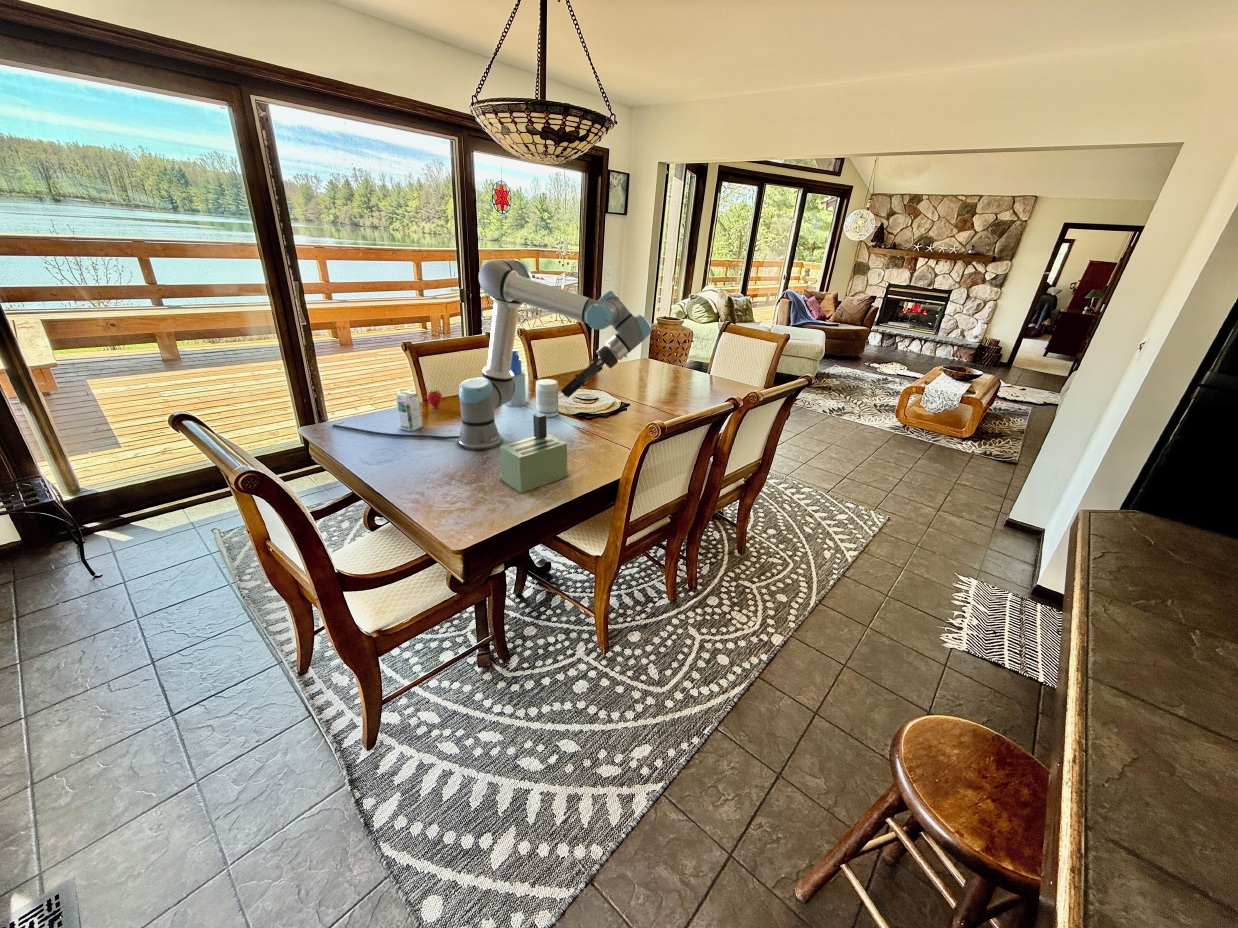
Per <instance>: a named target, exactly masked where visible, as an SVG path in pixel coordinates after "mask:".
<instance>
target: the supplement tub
mask: <svg viewBox="0 0 1238 928" xmlns="http://www.w3.org/2000/svg"><path fill="white" fill-rule="evenodd" d="M558 383H559V382H558V380H556V379H551V378H546V379H545V378H541V379H538V380H536V381H535V398H536V399H535V400H536V414H539V413H542V414H544V415H546V418H552V417H556V416H557V415H559V384H558Z"/></svg>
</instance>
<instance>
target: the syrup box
mask: <svg viewBox="0 0 1238 928" xmlns="http://www.w3.org/2000/svg"><path fill="white" fill-rule="evenodd" d="M418 395H419V394H418V392H414V391H410V390H409V391H408V390H403V391H399V392H397V393H396V394H395V399H396V406H397V411H398V418H399V419H398V420H399V427H400V429H401V430H403V431H409V432H414V431H416V430H418V429H421V428H422V419H421V411H420V403H419V396H418Z"/></svg>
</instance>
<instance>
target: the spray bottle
mask: <svg viewBox="0 0 1238 928" xmlns="http://www.w3.org/2000/svg"><path fill="white" fill-rule="evenodd" d="M510 370H511V371H512V372H513V374H514V376H513V378H514V381H515V382H516V393H515V395H514V397H513V398H512V399H511V400H510V401H509V402H507V403H506V405H507V406H509V407H523V406H525V405H526V404H527V393H526V391H527V390H526V374H525V372H524V371H522V359H521V358H520V355H519V349H517V348H513V353H512V360H511V368H510Z"/></svg>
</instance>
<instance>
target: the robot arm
mask: <svg viewBox="0 0 1238 928" xmlns="http://www.w3.org/2000/svg"><path fill="white" fill-rule="evenodd" d="M478 282H479V286H480V287H481V289H482V291H483V292H484V293H485V294H487V295H488V296H489V297H490V299H491V300H492V301H493V309H492V317H491V326H490V335H489V336H490V337H489V344H488V355H487V363H486V366H484V367H483V368H482V373H481V377H473V378H468V379H466V380H463V381H462V382H460V384H459V386H458V398H459V406H460V407H459V408H460V418H461V426H460V430H459V435H452V436H451V435H449V436H448V435H447V436H442V435H431V434H401V433H388V432H379V431H373V430H367V429H361V428H355V427H352V426H351V427H350V426H346V425H345V426H344V425H338V424H332V427H333V428H337V429H338V428H339V429H344V430H349V431H356V432H361V433H365V434H372V435H379V436H389V437H400V438H401V437H402V438H429V439H440V440H451V439H458V446H460V447H461V448H462V449H466V450H470V451H482V450H490V449H492V448H495V447H497V446H500V444H501V442H502V436H501V433H500V432H499V430H498V427H497V425H496V422H495V410H496V409H497V408H499V407H502V406H503V405H505V404H507V402H509V401H510V400H511V399H512V398H513V397H514V395H515V393H516V382H515V381H514V378H513V376H514V374H513V372H512V371H511V370H510V368H511V360H512V353H513V349H514V343H515V338H516V337H515V335H516V329H517V322H518V315H519V308H520V307H521V306H522V305H524V304H525V305H528V306H532V307H535V308H538V309H541V310H544V311H546V312H550V313H553V314H557V315H560V316H563V317H566V318H568V319H572V320H575V321H578V322H581V323H583V324H584V323H585V324H587V325H588V327H590V328H591V329H593V330H596V331H597V330H604V329H607V328H608V327H609V326H612V328H613V329H614V331H616V332H617V333H616V334H614V335H613V336H611V338H609V339H608V340H607V341H606V342H605V344H603V345H602V346H601V347H600V348H598V349H597V350H596V355H597V356H598V357H597V358H596V359H594V360H593V361H591V363H590V364H588V366H587V367H586V368H585V369H584V370H582V371H581V372H580V373H576V374H574V378H573V379H572V380H571V381H569V383H567V384H566V385H565V386H564V387H563V388H561V390H560V392H561V393H562V394H563V396H565V398H570V397H571V396H572V395H573V394H575V392H577V391H578V390H580V388H581V387H583V388H584V387H585V386H586V383H587V382H588V381H589V380H590V379H591V378H592V377H595V376H596V375H597V374H598V373H601V372H602V370H603V367H604V365H606V366H607V368H609V369H613V368H614V367H615V366H616V365H617V364H618V363H619V361H622V359H624V358H628V354H629V353H631V352H632V351H633V350H634V349H635V348H637V347H638V346H639V345H640V344H641V343H642V342H643V341H645V340H646V339H647V338H648V337H649V336H650V335H651V334H652V327H651V324H650V323H649V322H648V320H647V319H646V318H645V317H644V316H643V315H642V314H637V315H634V314H632V312H631V311H630V309H628V307H627V306H626V305H625V304H624V302H623V301H622V299H621V298H620V296H618V295H617V294H616V293H615V292H614V290H608V291H607V292H605V293H604V294H603V295H602V296H600V297H599V298H598V300H597V299H595V298H590V297H588V296H584V295H581V294H578V293H574V292H571V291H568V290H565V289H562V288H559V287H555V286H553V285H549V284H547V283H544V282H540V281H536V280H533V278H532V273H531V271H530V269H529V267H528V266H527V265H526V263H525V262H523V261H522V260H519V259H516V258H510V257H509V258H501V259H491V260H488V261H486V262H485V263H484V264H482V266H481V267H480V269H479V272H478Z"/></svg>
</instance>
